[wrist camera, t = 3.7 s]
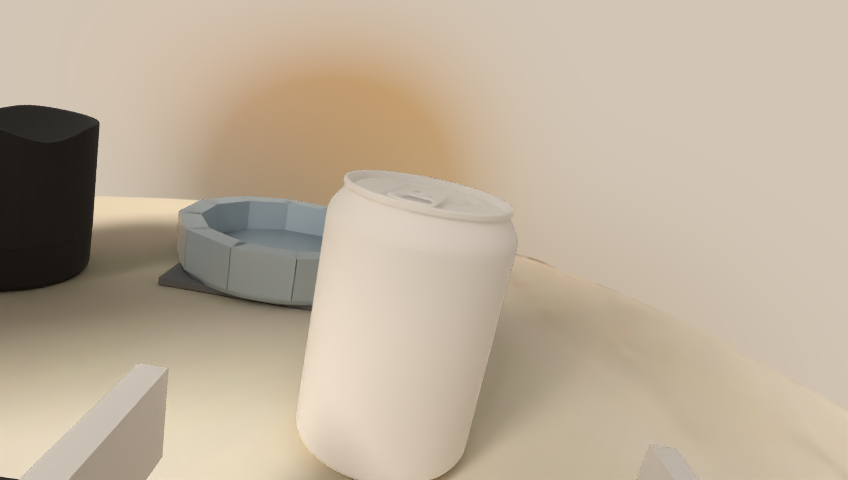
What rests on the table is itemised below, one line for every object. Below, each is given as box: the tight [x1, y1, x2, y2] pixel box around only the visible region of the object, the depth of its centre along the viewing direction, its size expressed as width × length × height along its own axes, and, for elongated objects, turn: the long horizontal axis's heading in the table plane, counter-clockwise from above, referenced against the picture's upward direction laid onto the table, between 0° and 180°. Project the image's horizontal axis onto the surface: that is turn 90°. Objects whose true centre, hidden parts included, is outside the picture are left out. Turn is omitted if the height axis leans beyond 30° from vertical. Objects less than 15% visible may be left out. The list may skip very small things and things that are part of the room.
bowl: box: [176, 196, 328, 305], centre depth 41 cm, size 16×16×3 cm
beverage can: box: [296, 170, 518, 480], centre depth 23 cm, size 8×8×12 cm
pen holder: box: [0, 105, 99, 291], centre depth 32 cm, size 9×9×10 cm
